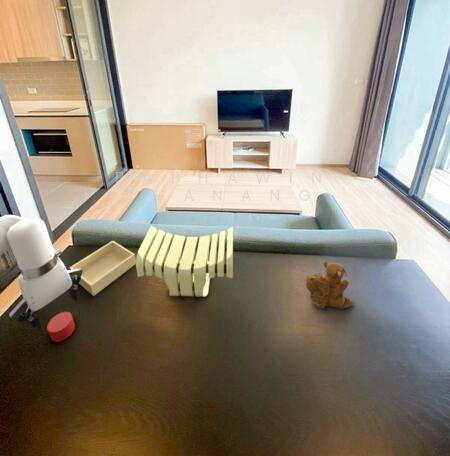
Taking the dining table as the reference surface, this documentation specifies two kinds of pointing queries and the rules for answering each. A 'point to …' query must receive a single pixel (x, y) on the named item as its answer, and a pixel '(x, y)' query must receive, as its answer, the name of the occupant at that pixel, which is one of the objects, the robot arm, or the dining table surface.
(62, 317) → the disc
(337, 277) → the stuffed squirrel
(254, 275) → the dining table surface
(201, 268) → the slatted curved stool
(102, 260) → the bin
